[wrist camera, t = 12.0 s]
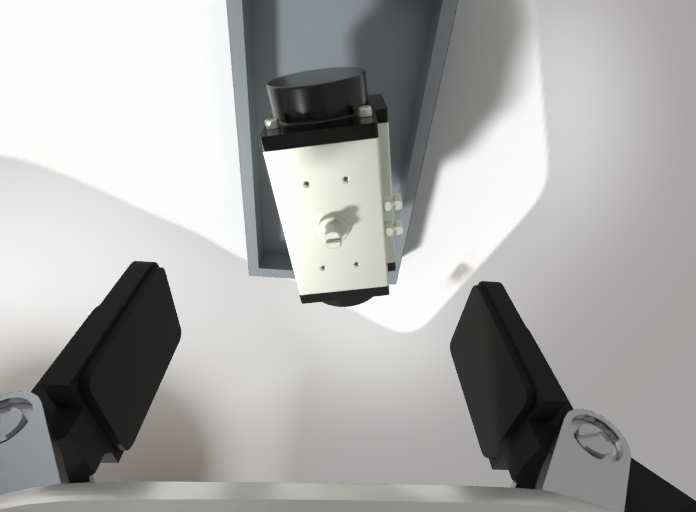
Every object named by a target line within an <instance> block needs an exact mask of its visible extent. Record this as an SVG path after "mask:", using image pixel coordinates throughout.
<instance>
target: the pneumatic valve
mask: <svg viewBox="0 0 696 512" xmlns="http://www.w3.org/2000/svg"><path fill="white" fill-rule="evenodd" d="M266 87H267V92H268V96H269V100H270V105H271V109H272V116H271V118H268V119H266V120H265V124H266V126H265V127H264V129H263V130H262V132H261V134H260V135H259V140H260V144H261V148H262V151H263V156H264V159H265V163H266V167H267V171H268V175H269V179H270V183H271V186H272V190H273V194H274V198H275V202H276V206H277V210H278V213H279V217H280V221H281V225H282V229H283V233H284V237H285V240H286V244H287V248H288V252H289V256H290V260H291V264H292V268H293V271H294V275H295V279H296V283H297V287H298V291H299V295H300V298H301V302H302V303H313V302H323V303H326V304H328V305H332V306H338V307H348V306H354V305H358V304H361V303H364V302H366V301H368V300H369V299H371V298H372V297H373V296H382V295H389V282H388V271H395V270H396V260H395V240H394V231H396V235H401V234H403V223H402V219H397V220H395V224H394V220H393V206H394V208H395V210H401V209H402V196H401V193H395V194H393V199H392V181H391V161H390V141H389V122H388V107H387V105H386V103H385V101H384V99H383V97H382V95H381V94H375V95H369V94H368V91H367V84H366V72H365V70H364V69H362V68H359V67H333V68H323V69H315V70H309V71H303V72H298V73H293V74H289V75H285V76H282V77H278V78H276V79H273V80H271V81H269V82H268V83H267V85H266Z"/></svg>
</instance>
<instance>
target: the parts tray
mask: <svg viewBox="0 0 696 512" xmlns="http://www.w3.org/2000/svg"><path fill="white" fill-rule="evenodd" d="M226 3H227V15H228V27H229V39H230V51H231V63H232V76H233V88H234V100H235V112H236V124H237V136H238V148H239V160H240V172H241V184H242V196H243V208H244V220H245V232H246V244H247V257H248V268H249V276H263V277H280V278H295V275H294V271H293V268H292V264H291V260H290V256H289V252H288V248H287V244H286V240H285V237H284V233H283V229H282V225H281V221H280V217H279V213H278V210H277V206H276V202H275V198H274V194H273V190H272V186H271V183H270V179H269V175H268V171H267V167H266V163H265V159H264V156H263V151H262V148H261V144H260V140H259V135H260V134H261V132H262V130H263V129H264V127H265V126H266V124H265V120H266V119H268V118H271V116H272V109H271V105H270V100H269V96H268V92H267V87H266V85H267V83H268V82H269V81H271V80H273V79H276V78H278V77H282V76H285V75H289V74H293V73H298V72H303V71H309V70H315V69H323V68H333V67H359V68H362V69H364V70H365V72H366V84H367V91H368V94H369V95H375V94H381V95H382V97H383V99H384V101H385V103H386V105H387V107H388V122H389V141H390V161H391V181H392V199H393V194H395V193H401V196H402V209H401V210H395V208H394V206H393V220H394V224H395V220H397V219H402V223H403V234H401V235H396V231H394V240H395V260H396V270H395V271H388V282H389V284H396V282H397V277H398V273H399V268H400V264H401V259H402V255H403V250H404V245H405V241H406V236H407V232H408V227H409V223H410V218H411V213H412V209H413V204H414V200H415V195H416V191H417V186H418V182H419V177H420V172H421V168H422V163H423V159H424V154H425V150H426V145H427V140H428V136H429V131H430V127H431V122H432V118H433V113H434V108H435V104H436V99H437V95H438V90H439V86H440V81H441V77H442V72H443V67H444V63H445V58H446V54H447V49H448V45H449V40H450V35H451V31H452V26H453V22H454V17H455V13H456V8H457V4H458V0H226Z"/></svg>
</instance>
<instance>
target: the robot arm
mask: <svg viewBox="0 0 696 512" xmlns="http://www.w3.org/2000/svg"><path fill="white" fill-rule="evenodd" d="M180 337H181V327H180V324H179V320H178V317H177V313H176V309H175V306H174V302H173V299H172V295H171V291H170V287H169V284H168V281H167V276H166V273H165V270H164V269H163V268H160V267H159V266H158V264H157V263H155V262H142V261H134V262H132V264H131V265H130V266H129V267H128V268H127V270H126V271H125V272H124V274H123V275H122V276H121V278H120V279H119V281H118V282H117V283H116V284H115V286H114V287H113V288H112V290H111V291H110V292H109V294H108V295H107V296H106V298H105V299H104V300H103V302H102V303H101V304H100V305H99V306H98V307H96V308H95V309H94V310H93V311H92V313H91V314H90V315H89V316H88V318H87V319H86V320H85V322H84V323H83V324H82V326H81V327H80V328H79V329H78V331H77V332H76V333H75V335H74V336H73V337H72V339H71V340H70V341H69V343H68V344H67V345H66V347H65V348H64V349H63V351H62V352H61V353H60V354H59V356H58V357H57V358H56V360H55V361H54V362H53V364H52V365H51V366H50V368H49V369H48V370H47V371H46V373H45V374H44V375H43V377H42V378H41V379H40V381H39V382H38V383H37V385H36V386H35V387H34V389H33V390H32V391H31V392H24V391H19V392H12V393H7V394H4V395H1V396H0V512H696V501H695V500H693V499H692V498H690V497H689V496H688V495H686V494H684V493H683V492H682V491H680V490H679V489H677V488H676V487H674V486H673V485H671V484H670V483H668V482H667V481H665V480H664V479H662V478H661V477H659V476H658V475H656V474H655V473H653V472H652V471H650V470H649V469H647V468H646V467H644V466H643V465H641V464H640V463H638V462H637V461H635V460H634V459H632V458H631V453H630V448H629V445H628V443H627V441H626V439H625V438H624V437H623V435H622V433H621V432H620V431H619V430H618V429H617V428H616V427H615V426H614V425H613V424H612V423H611V422H610V421H608V420H607V419H606V418H604V417H603V416H601V415H599V414H596V413H595V412H593V411H589V410H585V409H573V408H572V406H571V404H570V402H569V400H568V399H567V397H566V395H565V393H564V392H563V390H562V388H561V386H560V385H559V383H558V381H557V379H556V377H555V375H554V374H553V372H552V370H551V368H550V367H549V365H548V363H547V361H546V359H545V358H544V356H543V354H542V352H541V351H540V349H539V347H538V345H537V343H536V342H535V340H534V338H533V336H532V334H531V333H530V331H529V330H528V328H527V327H526V326H525V324H524V323H523V321H522V319H521V317H520V315H519V314H518V312H517V310H516V308H515V306H514V305H513V303H512V301H511V299H510V298H509V296H508V294H507V292H506V290H505V288H504V287H503V285H502V284H501V283H499V282H487V281H486V282H485V281H482V282H480V283H479V284H478V286H477V285H476V286H474V287H473V288H472V290H471V293H470V295H469V297H468V300H467V303H466V305H465V307H464V310H463V312H462V315H461V317H460V320H459V323H458V325H457V327H456V330H455V332H454V335H453V337H452V340H451V343H450V351H451V355H452V358H453V361H454V364H455V367H456V371H457V374H458V377H459V380H460V383H461V387H462V390H463V393H464V396H465V399H466V402H467V406H468V409H469V413H470V415H471V419H472V422H473V425H474V429H475V432H476V435H477V438H478V441H479V445H480V448H481V451H482V453H483V455H484V456H485V457H487V458H489V460H490V464H491V467H492V469H498V470H499V469H500V470H509V473H510V475H511V478H512V480H513V483H512V485H511V488H504V487H479V486H443V485H442V486H440V485H389V484H329V483H327V484H326V483H325V484H323V483H253V482H252V483H250V482H248V483H247V482H246V483H245V482H95V480H94V477H93V474H94V473H95V472H96V470H97V468H98V466H99V464H100V463H119V460H120V458H121V456H122V454H123V452H124V450H129V449H130V448H131V446H132V445H133V443H134V441H135V439H136V436H137V434H138V432H139V430H140V428H141V425H142V423H143V421H144V419H145V416H146V414H147V412H148V410H149V407H150V405H151V403H152V400H153V399H154V396H155V394H156V392H157V390H158V388H159V385H160V383H161V381H162V379H163V376H164V374H165V372H166V370H167V368H168V365H169V363H170V361H171V359H172V356H173V354H174V352H175V349H176V348H177V345H178V343H179V341H180Z"/></svg>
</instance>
